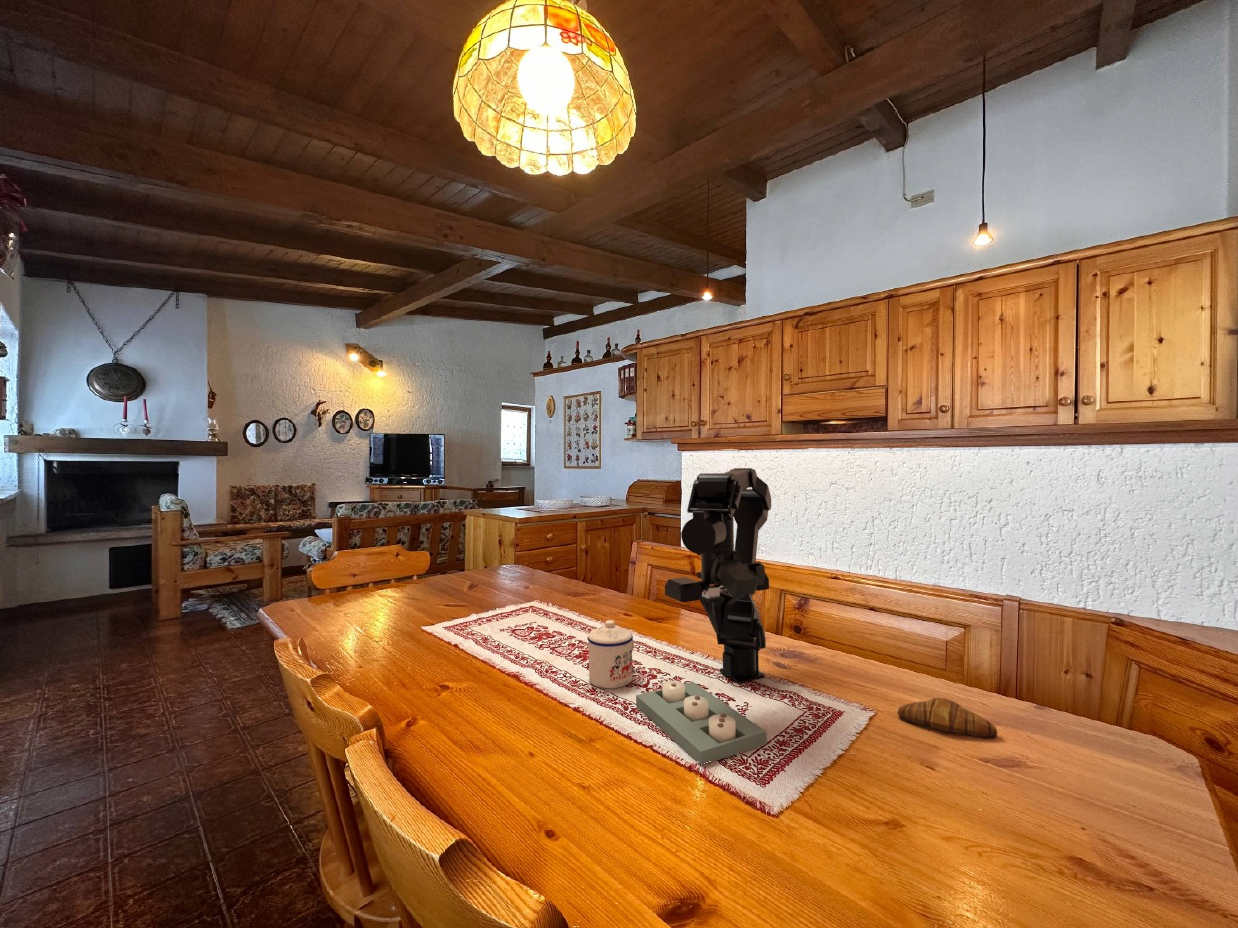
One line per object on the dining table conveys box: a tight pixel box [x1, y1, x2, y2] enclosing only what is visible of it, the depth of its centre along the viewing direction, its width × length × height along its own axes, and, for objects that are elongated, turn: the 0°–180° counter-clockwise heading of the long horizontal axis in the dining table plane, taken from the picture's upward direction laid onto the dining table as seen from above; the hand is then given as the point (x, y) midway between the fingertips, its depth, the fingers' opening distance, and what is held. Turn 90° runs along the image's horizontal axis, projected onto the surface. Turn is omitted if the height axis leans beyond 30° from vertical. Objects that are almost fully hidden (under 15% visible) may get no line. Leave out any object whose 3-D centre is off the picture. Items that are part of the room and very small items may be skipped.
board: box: [635, 681, 767, 765], centre depth 85 cm, size 12×20×2 cm, turn 26°
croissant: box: [897, 697, 998, 740], centre depth 83 cm, size 14×7×5 cm, turn 60°
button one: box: [661, 680, 685, 704], centre depth 91 cm, size 4×4×3 cm
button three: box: [709, 713, 736, 744], centre depth 79 cm, size 4×4×3 cm
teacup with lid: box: [586, 619, 635, 689], centre depth 104 cm, size 12×9×12 cm
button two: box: [684, 696, 709, 722], centre depth 85 cm, size 4×4×3 cm
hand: (718, 633), depth 91 cm, fingers closed
